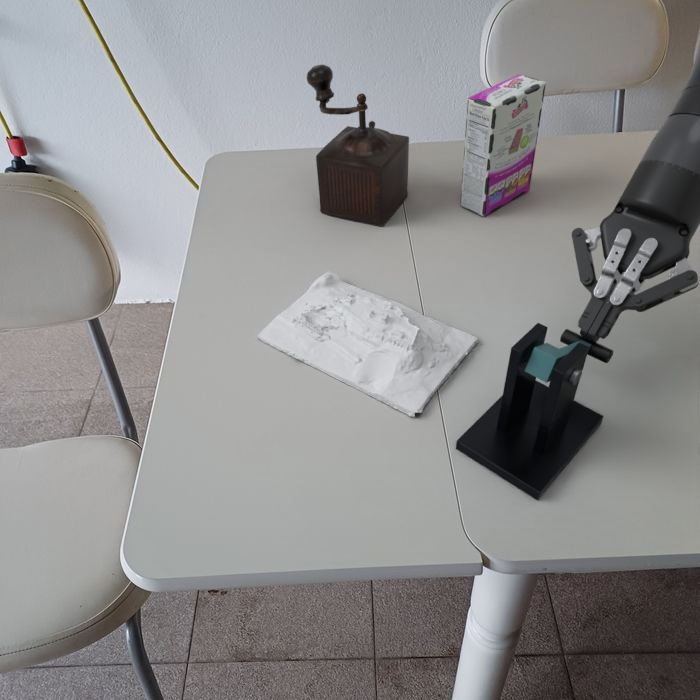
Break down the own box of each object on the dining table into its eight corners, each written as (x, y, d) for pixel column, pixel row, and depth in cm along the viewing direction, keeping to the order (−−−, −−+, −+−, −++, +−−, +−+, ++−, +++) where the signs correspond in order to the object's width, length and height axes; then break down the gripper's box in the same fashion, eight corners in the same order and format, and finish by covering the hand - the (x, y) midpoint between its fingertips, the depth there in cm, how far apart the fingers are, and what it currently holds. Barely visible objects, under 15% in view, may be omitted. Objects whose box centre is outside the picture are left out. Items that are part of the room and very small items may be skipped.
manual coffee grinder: (411, 192, 99) (415, 72, 87) (383, 228, 92) (383, 102, 80) (322, 174, 104) (313, 58, 92) (288, 207, 97) (274, 86, 85)
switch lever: (561, 344, 66) (570, 323, 66) (607, 366, 64) (617, 345, 63) (510, 364, 57) (520, 340, 56) (561, 390, 55) (572, 365, 54)
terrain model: (318, 283, 85) (314, 250, 81) (486, 328, 75) (489, 293, 72) (244, 359, 74) (236, 325, 71) (428, 423, 65) (429, 387, 61)
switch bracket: (522, 381, 69) (540, 293, 61) (601, 423, 64) (632, 334, 56) (455, 448, 62) (466, 360, 54) (537, 500, 58) (562, 412, 50)
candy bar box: (503, 180, 101) (518, 72, 90) (530, 191, 98) (549, 81, 87) (456, 206, 96) (466, 95, 85) (483, 218, 93) (497, 105, 82)
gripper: (606, 140, 62) (518, 302, 64) (752, 183, 55) (649, 363, 57) (618, 171, 68) (538, 317, 70) (750, 213, 61) (657, 374, 63)
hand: (588, 337), depth 63 cm, fingers closed
